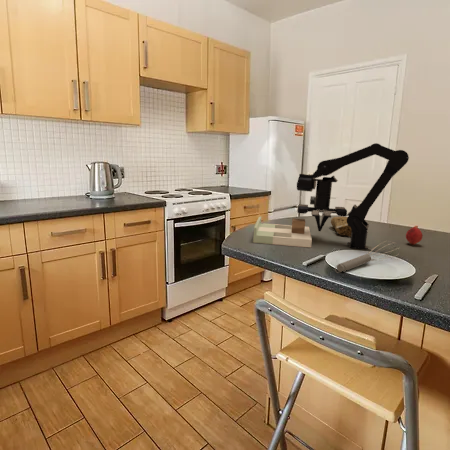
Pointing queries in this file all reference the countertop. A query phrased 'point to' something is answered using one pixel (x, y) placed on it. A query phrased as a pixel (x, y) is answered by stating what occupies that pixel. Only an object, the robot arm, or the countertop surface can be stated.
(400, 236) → the countertop surface
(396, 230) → the countertop surface
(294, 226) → the block
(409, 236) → the onion
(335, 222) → the sponge
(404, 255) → the countertop surface
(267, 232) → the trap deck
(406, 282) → the countertop surface
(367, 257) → the kitchen whisk
